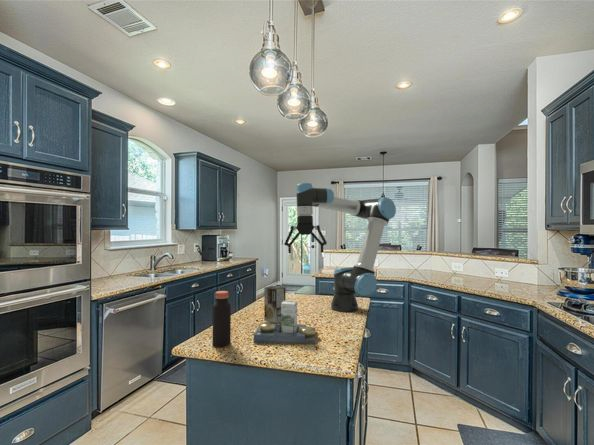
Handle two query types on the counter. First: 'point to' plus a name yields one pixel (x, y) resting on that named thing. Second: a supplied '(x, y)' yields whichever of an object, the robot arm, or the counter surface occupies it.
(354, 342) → the counter surface
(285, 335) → the knobbed grey frame
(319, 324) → the counter surface
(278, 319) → the coffee box
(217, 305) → the bottle
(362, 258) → the robot arm
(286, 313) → the syrup box
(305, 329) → the grey base plate
